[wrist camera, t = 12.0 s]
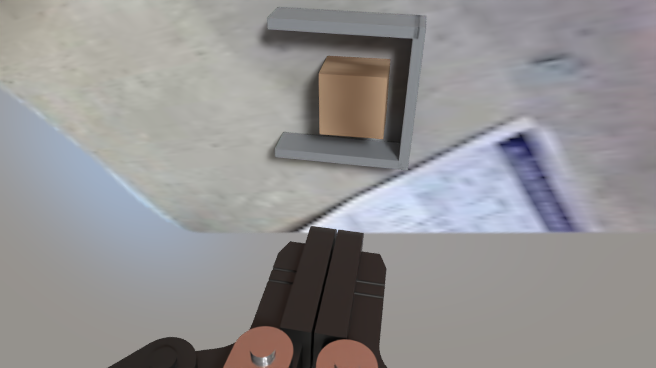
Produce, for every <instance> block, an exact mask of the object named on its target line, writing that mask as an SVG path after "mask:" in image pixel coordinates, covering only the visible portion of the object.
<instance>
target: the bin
mask: <svg viewBox="0 0 656 368" xmlns="http://www.w3.org/2000/svg"><path fill="white" fill-rule="evenodd" d="M267 25H268V29H271V30H287V31H303V32H318V33H334V34H349V35H365V36H380V37H396V38H411V39H412V46H411V55H410V63H409V72H408V81H407V89H406V98H405V107H404V116H403V124H402V133H401V142H400V143H396V142H385V141H374V140H363V139H352V138H342V137H331V136H320V135H309V134H298V133H288V132H283V134H282V136H281V138H280V140H279V142H278V143H277V145H276V147H275V157H280V158H290V159H300V160H310V161H320V162H330V163H340V164H351V165H361V166H371V167H381V168H391V169H401V170H408V164H409V156H410V149H411V141H412V133H413V126H414V118H415V110H416V102H417V95H418V87H419V79H420V72H421V64H422V56H423V48H424V41H425V33H426V16H422V15H404V14H387V13H370V12H353V11H336V10H318V9H301V8H284V7H277V8H276V9H275V10H274V11H273V12H272V13H271V14H270V15H269V16H268V17H267Z"/></svg>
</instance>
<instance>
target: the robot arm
mask: <svg viewBox="0 0 656 368" xmlns="http://www.w3.org/2000/svg"><path fill="white" fill-rule="evenodd" d="M363 237H364V233H359V232H352V231H345V230H338V233H337V230H336V229H330V228H322V227H315V226H311V227H310V230H309V233H308V237H307V240H306V243H297V242H291V241H290V242H289V243H288V244H287V245H286V246H285V247H284V248H283V249H282V250H281V251H280V252H279V253H278V255H277V258H276V261H275V264H274V266H273V270H272V272H271V274H270V277H269V281H268V283H267V286H266V288H265V291H264V293H263V296H262V299H261V301H260V304H259V307H258V310H257V312H256V315H255V318H254V320H253V323H252V325H251V328H250V329H249V331H247V332H245V333H244V334H242V335H241V336H240V337H239V338H238V339H237V341H236V342H235V343H233V344H231V345H229V346H226V347H222V348H217V349H209V350H201V351H195V349H194V348H193V346H192V345H191V344H190V343H189V342H187V341H186V340H184V339H181V338H177V337H167V338H162V339H159V340H156V341H154V342H151V343H149V344H148V345H146V346H144V347H143V348H141V349H139V350H137V351H136V352H134V353H132V354H131V355H129V356H127V357H125V358H124V359H122V360H120V361H119V362H117V363H115V364H113V365H112V366H110V367H108V368H387V367H386V365H385V364H384V362H383V360H382V358H381V355H380V351H379V343H380V331H381V321H382V310H383V298H384V289H385V277H386V267H385V264H384V262H383V260H382V258H381V255H380V254H375V253H368V252H362V246H363Z"/></svg>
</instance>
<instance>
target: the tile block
mask: <svg viewBox="0 0 656 368" xmlns="http://www.w3.org/2000/svg"><path fill="white" fill-rule="evenodd" d="M389 72H390V59H377V58H359V57H340V56H327V58H326V60H325V62H324V64H323V66H322V68H321V70H320V72H319V129H320V134H324V135H337V136H350V137H362V138H375V139H383V135H384V128H385V121H386V112H387V99H388V85H389Z"/></svg>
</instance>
